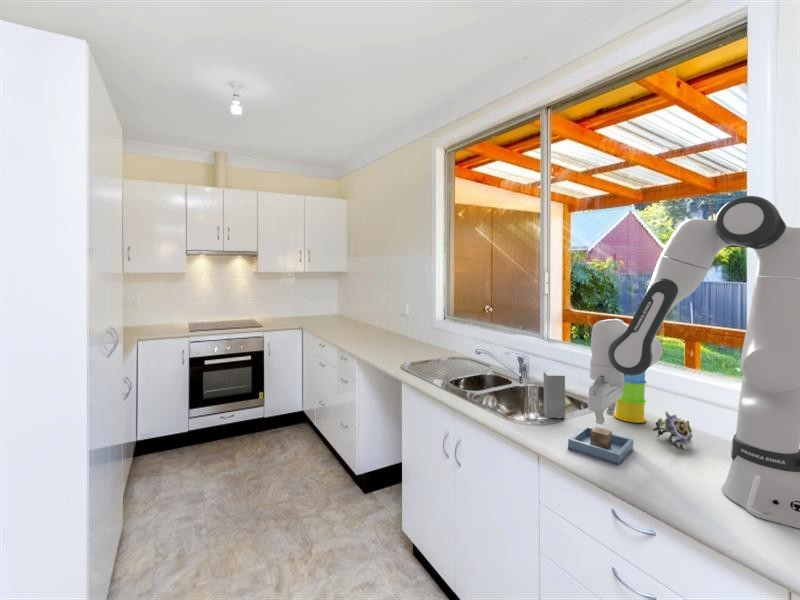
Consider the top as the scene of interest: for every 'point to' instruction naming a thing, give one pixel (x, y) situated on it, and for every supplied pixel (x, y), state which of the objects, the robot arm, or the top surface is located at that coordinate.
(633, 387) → the stacking cups
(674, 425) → the passion flower
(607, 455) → the sorting tray
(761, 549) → the top surface
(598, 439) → the walnut block
